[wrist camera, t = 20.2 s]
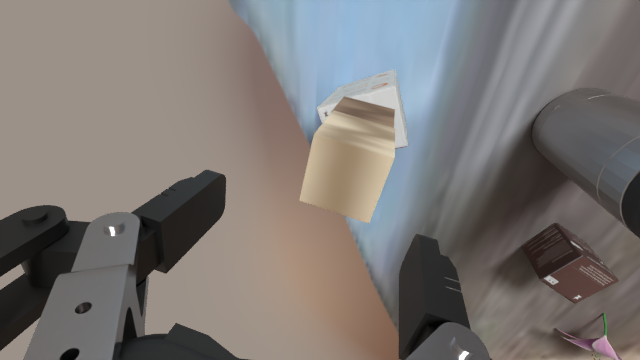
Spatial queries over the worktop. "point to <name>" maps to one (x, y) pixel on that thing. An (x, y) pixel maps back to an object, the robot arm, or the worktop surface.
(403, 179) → the worktop surface
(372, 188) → the maple block
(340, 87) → the small box
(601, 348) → the lily
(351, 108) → the walnut block
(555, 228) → the box
